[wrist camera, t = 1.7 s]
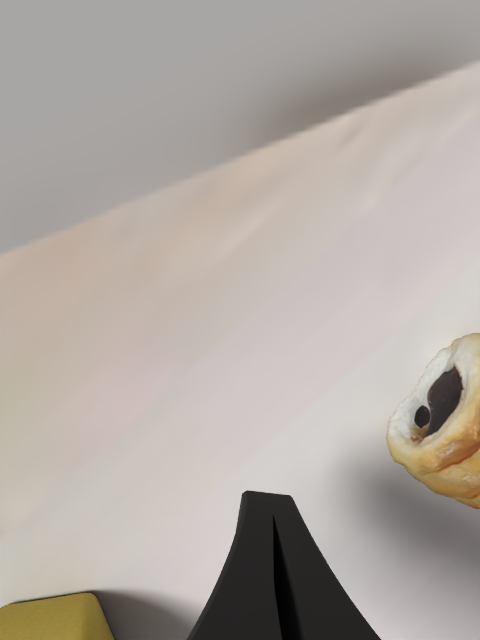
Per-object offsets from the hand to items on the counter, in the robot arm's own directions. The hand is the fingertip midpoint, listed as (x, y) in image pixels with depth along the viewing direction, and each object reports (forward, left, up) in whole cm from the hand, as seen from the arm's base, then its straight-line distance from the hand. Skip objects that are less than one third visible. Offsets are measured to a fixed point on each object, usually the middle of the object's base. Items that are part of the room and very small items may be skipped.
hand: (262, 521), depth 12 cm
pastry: (0, -10, -7) cm, 12 cm away
